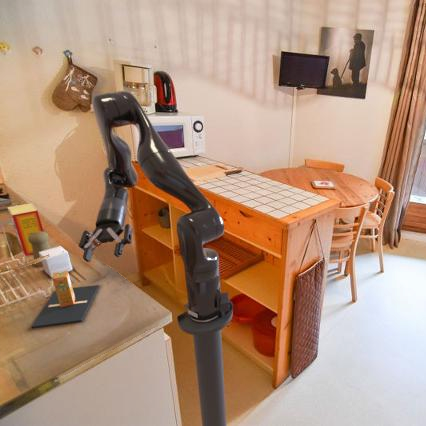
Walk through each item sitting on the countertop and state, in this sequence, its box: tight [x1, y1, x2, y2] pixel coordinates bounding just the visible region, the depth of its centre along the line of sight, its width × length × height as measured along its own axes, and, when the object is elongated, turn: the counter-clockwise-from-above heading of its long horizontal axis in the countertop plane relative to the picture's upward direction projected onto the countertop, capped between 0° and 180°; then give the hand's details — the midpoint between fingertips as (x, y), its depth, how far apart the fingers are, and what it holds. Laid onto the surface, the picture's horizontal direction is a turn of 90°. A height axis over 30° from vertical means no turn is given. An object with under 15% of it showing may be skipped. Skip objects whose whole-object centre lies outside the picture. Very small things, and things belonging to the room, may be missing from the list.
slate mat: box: [31, 284, 100, 329], centre depth 91 cm, size 11×16×1 cm
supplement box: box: [52, 271, 75, 307], centre depth 89 cm, size 3×3×10 cm
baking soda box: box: [6, 202, 45, 257], centre depth 113 cm, size 10×6×16 cm
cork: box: [28, 231, 52, 267], centre depth 107 cm, size 6×6×11 cm
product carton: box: [39, 245, 73, 279], centre depth 104 cm, size 6×6×7 cm
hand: (102, 258), depth 94 cm, fingers open, 8 cm apart
